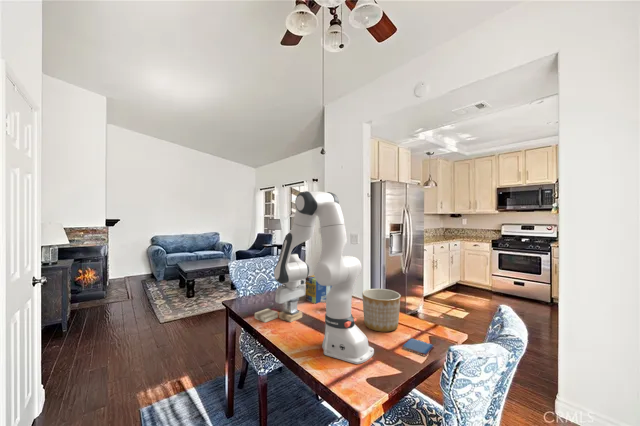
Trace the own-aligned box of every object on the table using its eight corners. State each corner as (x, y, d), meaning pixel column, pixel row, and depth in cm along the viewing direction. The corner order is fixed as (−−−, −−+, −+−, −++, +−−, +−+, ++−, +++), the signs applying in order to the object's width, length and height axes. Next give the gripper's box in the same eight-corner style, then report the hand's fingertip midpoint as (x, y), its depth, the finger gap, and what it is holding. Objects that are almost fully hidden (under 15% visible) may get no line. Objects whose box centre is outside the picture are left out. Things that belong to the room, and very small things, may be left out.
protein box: (305, 300, 181) (305, 276, 181) (322, 295, 192) (322, 273, 191) (315, 304, 173) (315, 279, 173) (332, 298, 184) (332, 275, 184)
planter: (371, 315, 155) (371, 286, 155) (405, 323, 144) (405, 292, 144) (355, 327, 139) (355, 295, 139) (392, 337, 128) (392, 302, 128)
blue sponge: (410, 341, 126) (410, 336, 126) (434, 348, 119) (434, 344, 119) (400, 349, 118) (400, 345, 118) (425, 358, 111) (425, 353, 111)
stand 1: (277, 317, 151) (277, 312, 151) (265, 322, 144) (265, 317, 144) (267, 313, 157) (267, 308, 157) (254, 318, 150) (254, 312, 150)
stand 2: (302, 317, 152) (302, 311, 152) (290, 322, 145) (290, 316, 145) (290, 313, 158) (290, 308, 158) (279, 318, 151) (279, 312, 151)
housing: (299, 312, 151) (299, 298, 151) (292, 315, 147) (292, 300, 147) (289, 309, 156) (289, 295, 156) (282, 311, 152) (282, 297, 152)
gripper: (280, 287, 141) (280, 314, 141) (307, 279, 157) (307, 303, 157) (272, 285, 145) (272, 311, 145) (299, 278, 161) (299, 301, 161)
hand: (290, 307), depth 151 cm, fingers open, 5 cm apart
